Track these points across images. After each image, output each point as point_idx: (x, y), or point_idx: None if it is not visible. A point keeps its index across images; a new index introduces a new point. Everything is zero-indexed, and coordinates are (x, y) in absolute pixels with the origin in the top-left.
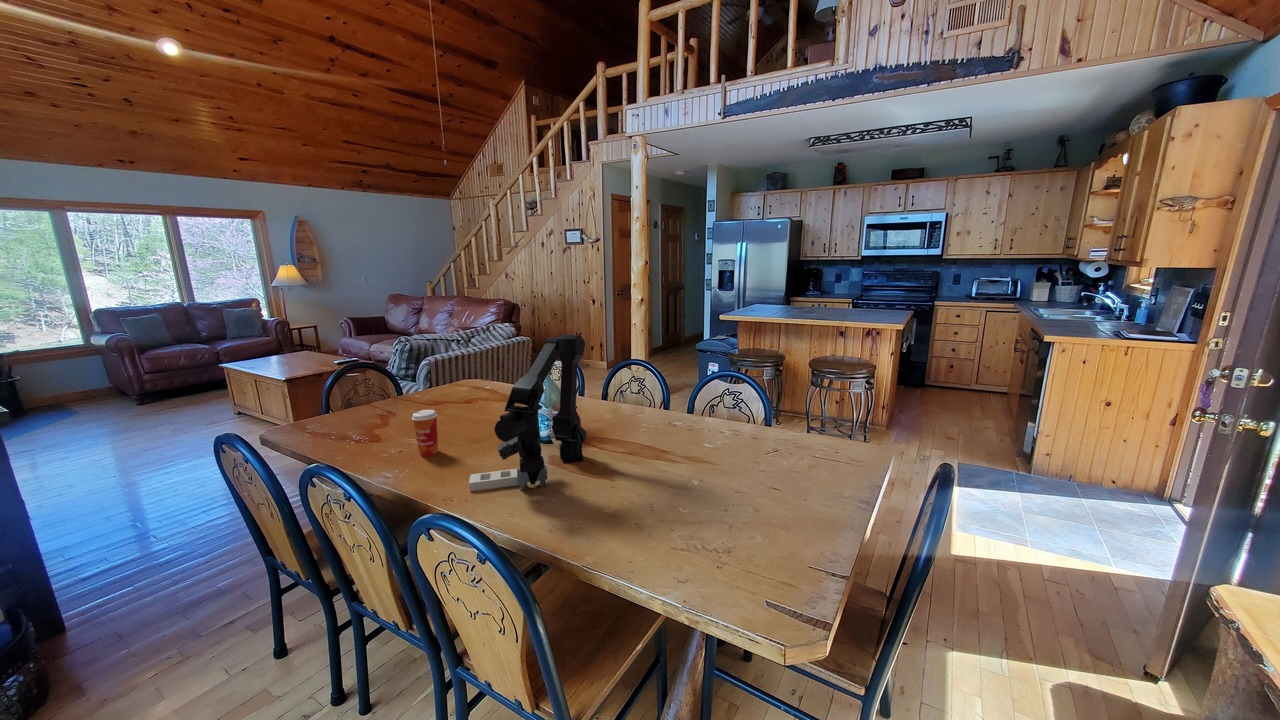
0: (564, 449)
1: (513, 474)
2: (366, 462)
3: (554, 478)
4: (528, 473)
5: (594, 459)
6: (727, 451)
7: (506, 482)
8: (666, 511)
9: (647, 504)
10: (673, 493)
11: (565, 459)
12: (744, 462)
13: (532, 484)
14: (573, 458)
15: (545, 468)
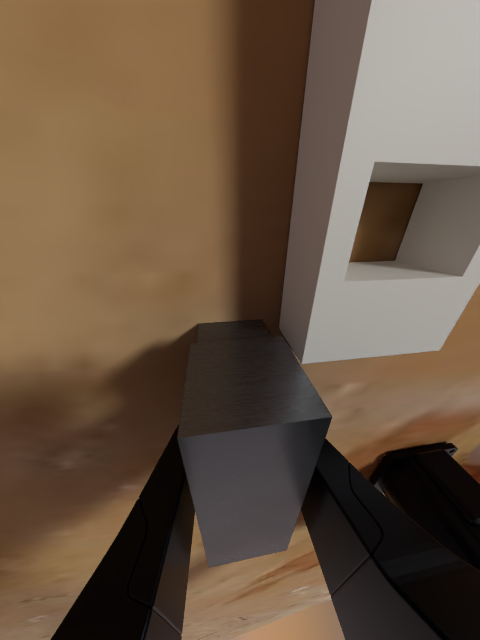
0: (447, 516)
1: (367, 306)
2: None
3: None
4: (114, 546)
5: None
6: (266, 601)
7: (305, 232)
8: (24, 611)
9: (57, 593)
10: None
11: (403, 463)
12: (220, 614)
13: None
14: (386, 485)
15: (231, 560)
